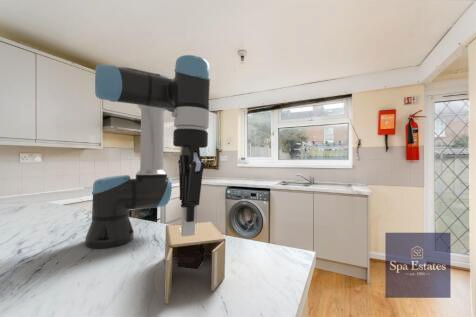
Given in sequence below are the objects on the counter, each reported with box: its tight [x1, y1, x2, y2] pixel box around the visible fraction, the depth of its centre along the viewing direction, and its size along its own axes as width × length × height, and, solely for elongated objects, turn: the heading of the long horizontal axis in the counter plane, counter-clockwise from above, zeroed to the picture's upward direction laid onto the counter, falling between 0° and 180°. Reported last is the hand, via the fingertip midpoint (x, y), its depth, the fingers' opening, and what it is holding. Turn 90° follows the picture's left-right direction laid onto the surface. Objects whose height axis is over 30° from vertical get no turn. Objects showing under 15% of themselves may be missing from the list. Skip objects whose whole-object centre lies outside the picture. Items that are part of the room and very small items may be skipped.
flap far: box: [210, 242, 224, 292], centre depth 52 cm, size 1×6×9 cm, turn 162°
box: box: [176, 244, 205, 271], centre depth 63 cm, size 6×6×7 cm
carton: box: [164, 221, 226, 279], centre depth 61 cm, size 16×14×10 cm
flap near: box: [164, 248, 173, 305], centre depth 48 cm, size 1×6×9 cm, turn 9°
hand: (187, 234), depth 49 cm, fingers closed
